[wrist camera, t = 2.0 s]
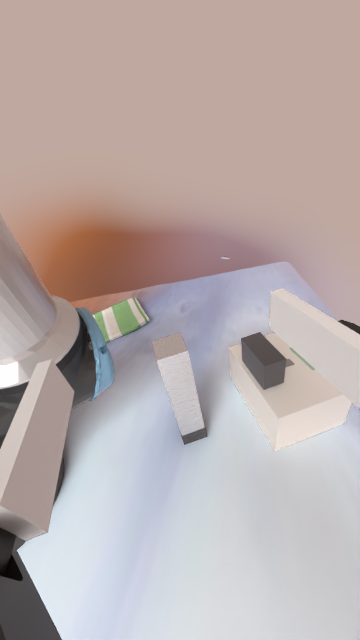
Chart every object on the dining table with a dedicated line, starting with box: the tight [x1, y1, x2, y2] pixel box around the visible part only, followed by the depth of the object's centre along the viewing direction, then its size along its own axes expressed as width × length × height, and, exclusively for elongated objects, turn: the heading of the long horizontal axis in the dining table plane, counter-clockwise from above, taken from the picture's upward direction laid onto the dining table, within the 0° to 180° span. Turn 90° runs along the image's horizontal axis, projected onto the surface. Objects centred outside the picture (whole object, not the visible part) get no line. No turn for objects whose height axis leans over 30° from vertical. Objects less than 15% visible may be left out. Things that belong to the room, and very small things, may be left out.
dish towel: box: [93, 298, 150, 343], centre depth 66 cm, size 18×23×3 cm
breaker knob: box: [241, 332, 287, 390], centre depth 31 cm, size 3×6×4 cm, turn 15°
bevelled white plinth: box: [228, 332, 352, 451], centre depth 35 cm, size 11×14×8 cm
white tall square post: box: [152, 333, 207, 445], centre depth 31 cm, size 4×4×18 cm
